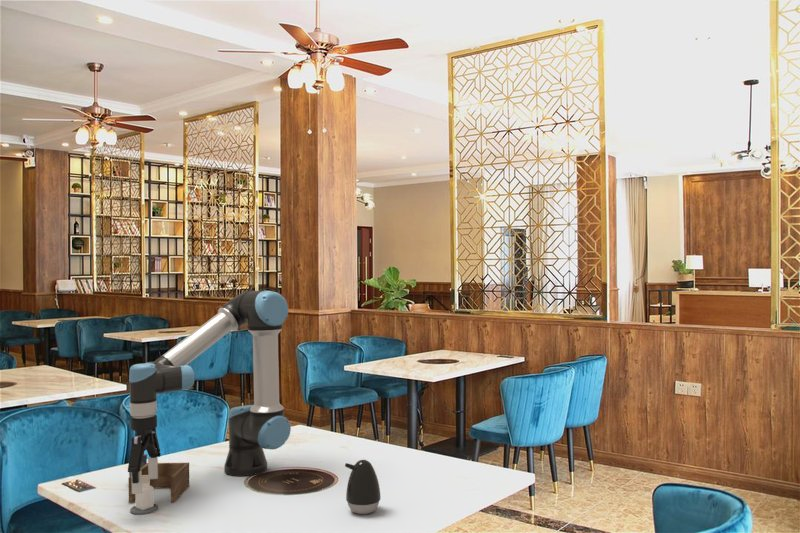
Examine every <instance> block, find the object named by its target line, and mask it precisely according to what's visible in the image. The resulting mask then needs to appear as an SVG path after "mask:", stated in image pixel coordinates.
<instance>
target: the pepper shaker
mask: <svg viewBox="0 0 800 533" xmlns="http://www.w3.org/2000/svg"><path fill="white" fill-rule="evenodd" d="M154 489H155V488H153V487H152V486H150V475H142V493H141V494H135V501H134V503H135V504H134V506H135V507H136V508H137V509H141V510H146V509H148V508H151V507H153V506H154V504H155V503H154V500H155V499H154V491H155V490H154Z"/></svg>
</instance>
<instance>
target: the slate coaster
mask: <svg viewBox="0 0 800 533" xmlns="http://www.w3.org/2000/svg"><path fill="white" fill-rule="evenodd" d="M158 510H159V505H158V504H156V503H154V506H153V507H151V508H148V509H146V510H141V509H137V508H136V507H135V505H134V506H132V507H130V510H129V513H130V514H132V515H135V516H136V515H137V516H139V515H142V516H143V515H148V514H152V513H156V512H157V511H158Z"/></svg>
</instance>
